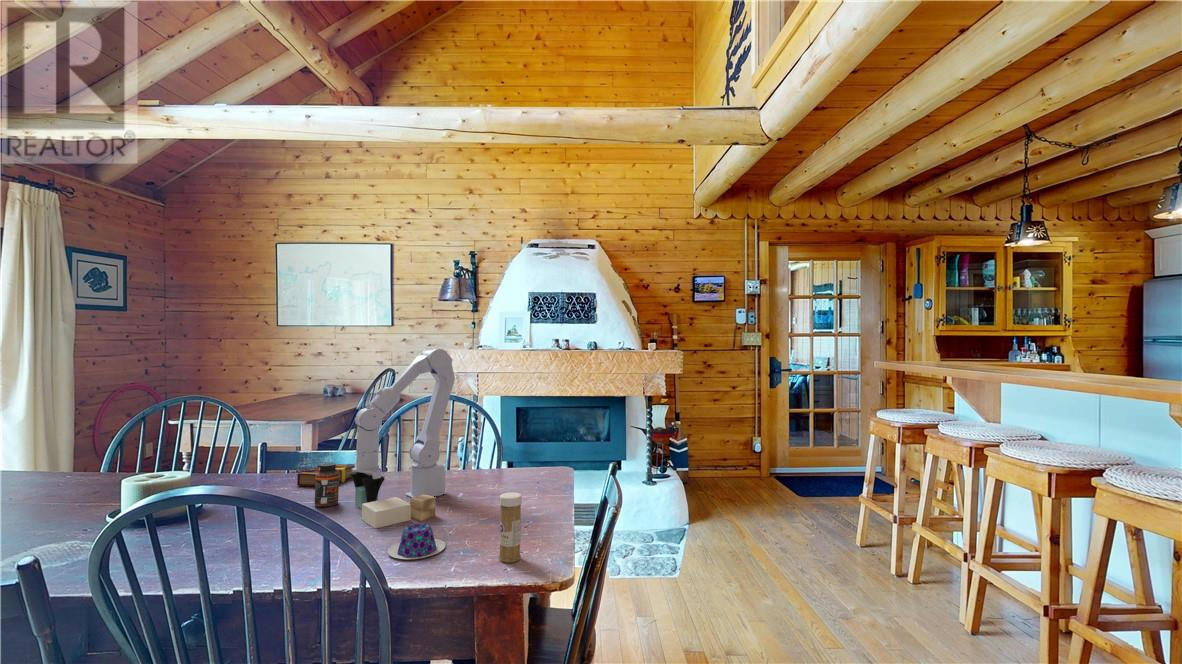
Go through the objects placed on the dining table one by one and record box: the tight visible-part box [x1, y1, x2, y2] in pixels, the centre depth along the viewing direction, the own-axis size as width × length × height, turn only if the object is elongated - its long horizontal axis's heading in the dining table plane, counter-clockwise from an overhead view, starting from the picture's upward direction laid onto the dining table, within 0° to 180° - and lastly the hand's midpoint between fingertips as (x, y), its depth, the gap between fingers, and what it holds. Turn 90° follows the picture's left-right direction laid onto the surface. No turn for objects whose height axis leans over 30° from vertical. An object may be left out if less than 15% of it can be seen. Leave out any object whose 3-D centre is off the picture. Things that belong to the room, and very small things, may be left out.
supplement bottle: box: [314, 462, 340, 508], centre depth 143 cm, size 6×6×11 cm
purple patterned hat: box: [387, 523, 446, 560], centre depth 111 cm, size 12×12×5 cm
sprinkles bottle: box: [498, 491, 523, 564], centre depth 107 cm, size 5×5×13 cm
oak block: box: [409, 495, 437, 522], centre depth 133 cm, size 4×4×5 cm
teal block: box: [354, 486, 379, 510], centre depth 143 cm, size 4×4×5 cm
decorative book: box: [296, 463, 354, 488], centre depth 169 cm, size 11×16×5 cm
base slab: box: [361, 496, 412, 529], centre depth 131 cm, size 9×9×4 cm
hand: (366, 499), depth 143 cm, fingers open, 7 cm apart
